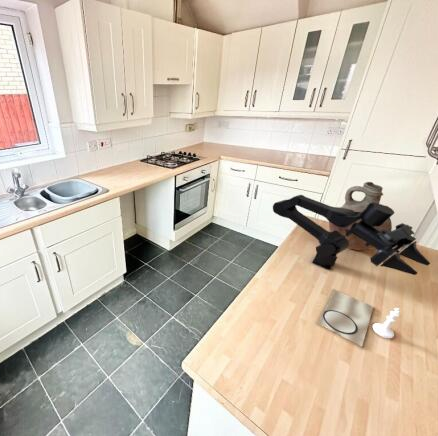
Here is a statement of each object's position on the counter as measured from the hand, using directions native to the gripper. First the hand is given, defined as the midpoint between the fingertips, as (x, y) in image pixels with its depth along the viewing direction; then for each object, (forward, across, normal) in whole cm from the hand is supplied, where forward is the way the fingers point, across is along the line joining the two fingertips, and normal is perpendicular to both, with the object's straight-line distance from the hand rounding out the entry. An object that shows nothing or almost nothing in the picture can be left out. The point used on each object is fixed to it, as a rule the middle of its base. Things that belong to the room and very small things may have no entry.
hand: (422, 269), depth 75 cm
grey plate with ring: (-2, -20, +17) cm, 27 cm away
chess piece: (+6, -17, +15) cm, 23 cm away
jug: (-22, +24, +22) cm, 40 cm away
